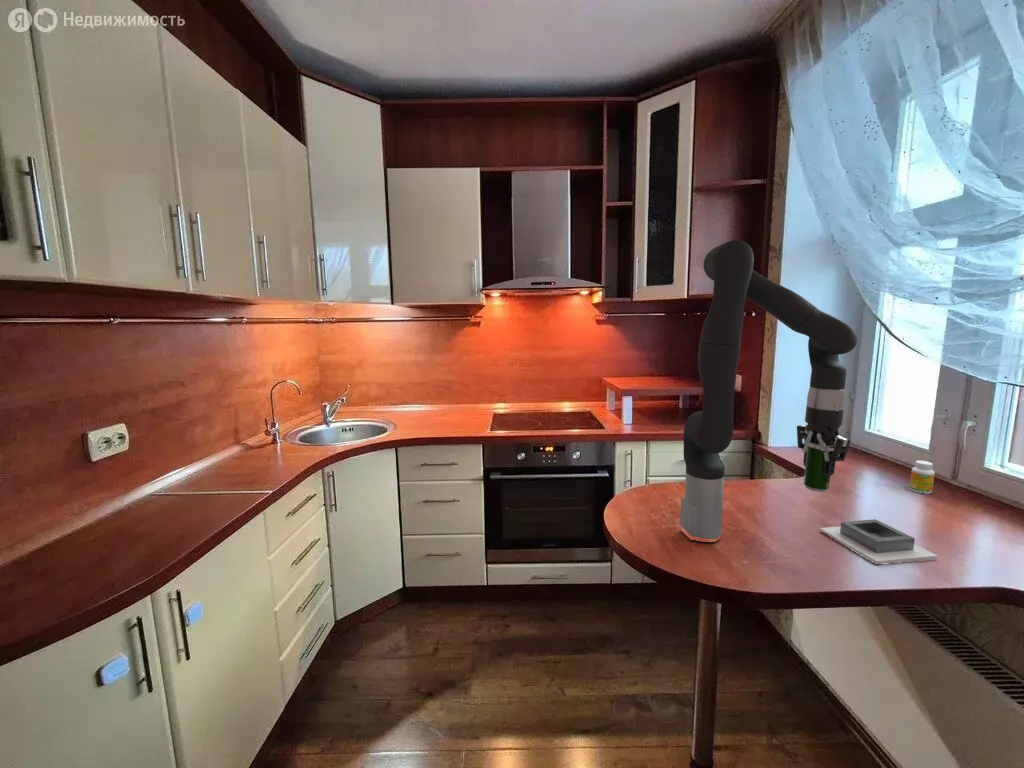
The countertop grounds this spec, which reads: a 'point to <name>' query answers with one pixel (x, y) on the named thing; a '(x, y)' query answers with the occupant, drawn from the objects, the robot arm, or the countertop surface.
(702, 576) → the countertop surface
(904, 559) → the holder plate
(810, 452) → the beer can
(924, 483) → the supplement bottle
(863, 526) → the can collar
